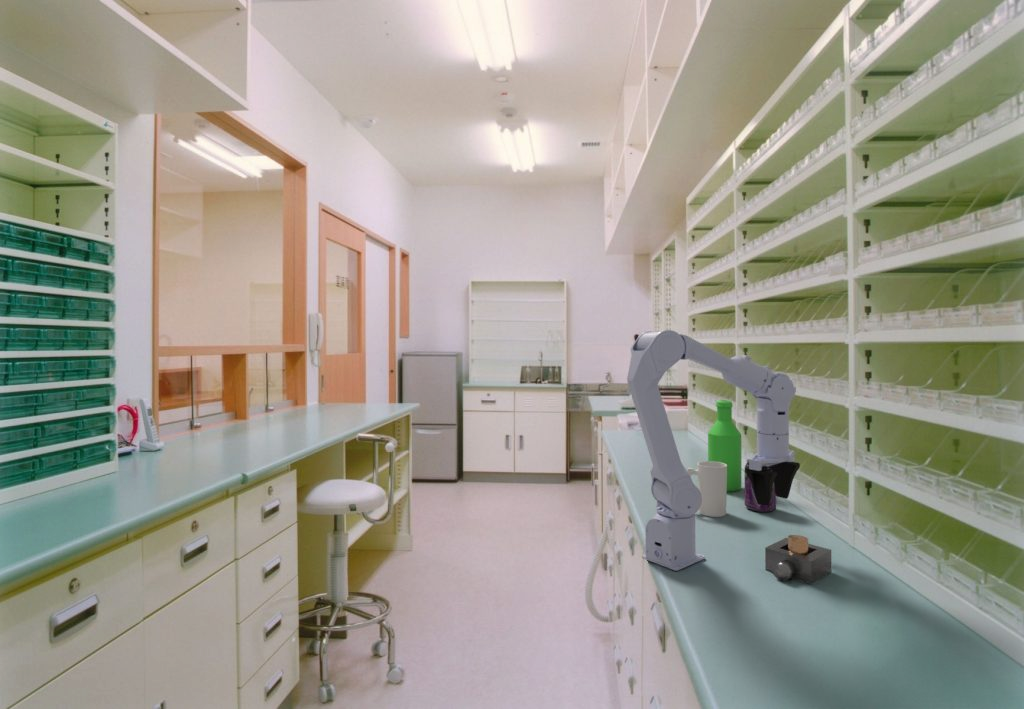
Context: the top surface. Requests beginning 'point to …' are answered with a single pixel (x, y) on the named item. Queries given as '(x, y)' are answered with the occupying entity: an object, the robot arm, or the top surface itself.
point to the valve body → (797, 562)
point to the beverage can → (751, 498)
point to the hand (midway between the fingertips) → (772, 500)
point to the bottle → (726, 444)
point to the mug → (712, 487)
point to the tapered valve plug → (798, 544)
